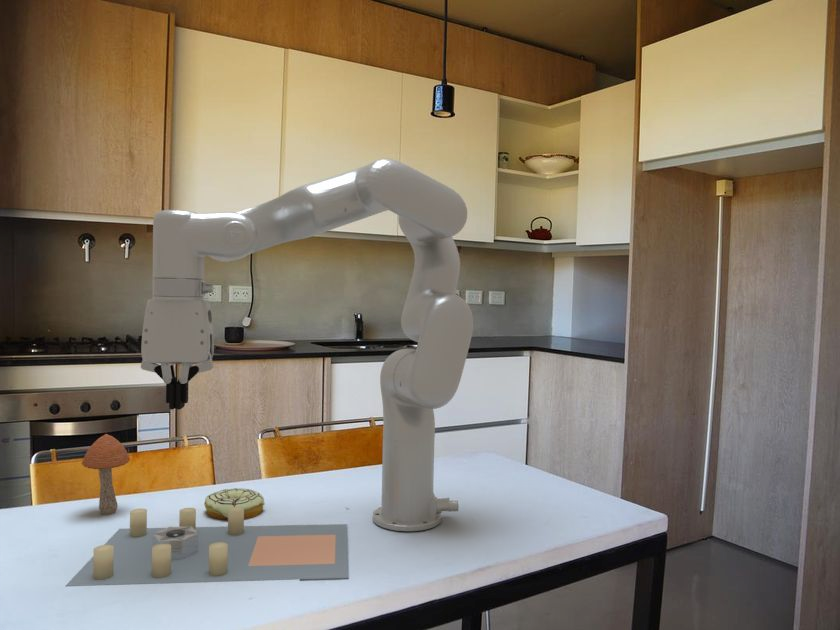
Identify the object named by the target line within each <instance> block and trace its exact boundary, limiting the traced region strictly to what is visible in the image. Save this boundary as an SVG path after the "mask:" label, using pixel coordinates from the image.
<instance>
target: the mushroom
mask: <svg viewBox="0 0 840 630" xmlns="http://www.w3.org/2000/svg"><path fill="white" fill-rule="evenodd" d="M130 460H131V458H130V456H129V453H128V451H127V450H126V448H125V446H124V445H123V444H122V443H121V442H120V441H119V440H118V439H117V438H115V437H114V436H113V435H111V434H110V435H109V434H107V433H105V434H104V435H102V436H100V437H98V438H97V439H96V440H95V441H94V442H93V443H92V444H91V445H90V447H89V448H88V449H87V451H86V453H85V455H84V457H83V459H82V461H81V465H82V466H83V467H84V468H88V469H90V470H91V469H92V470H98V475H99V484H100V485H99V486H100V489H99V490H100V491H99V499H98V500H99V502H98V510H99V512H100V514H101V515H104V516H109V515H114V514H115V513H116V512H117V510H118V509H117V508H118V502H117V497H116V493H115V490H114V486H113V475H112V474H113V473H112V472H113V471H112V470H113V469H115V468H118V467H122V466H125V465H126V464H127V463H129V462H130Z"/></svg>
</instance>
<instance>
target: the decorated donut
mask: <svg viewBox="0 0 840 630" xmlns="http://www.w3.org/2000/svg"><path fill="white" fill-rule="evenodd" d="M203 504H204V508H205V510H206V512H207V514H208V515H209V516H210V517H211V518H214V519H219V520H228V509H230V508H233V507H242V508H244V520H246V519H251V518H255V517H257V516H258V515H259V514H260V513H261V512H262V511H263V508H264V506H265V504H266V503H265V498H264V496H263V495H262V494H261V493H259V492H257V490H252V489H249V488H241V487H240V488H238V487H236V488H234V487H233V488H225V489H224V488H223V489H221V490H219V491H216V492H212V493H211V494H208V495H206V497H205V500H204V503H203Z"/></svg>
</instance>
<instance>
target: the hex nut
mask: <svg viewBox="0 0 840 630" xmlns="http://www.w3.org/2000/svg"><path fill="white" fill-rule="evenodd" d="M164 528H165V529H163V530H161V531H158V532H156V533H154V534H153V546H155V545H158V544H170V545H171V560H183V559H185V558H187V557H189V556H191V555H193V554H195V553H197V552H198V532H197V531H196V530H195V529H194V528H193V527H192V526H188V527H179V526H168V527H164Z"/></svg>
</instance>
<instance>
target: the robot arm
mask: <svg viewBox="0 0 840 630" xmlns="http://www.w3.org/2000/svg"><path fill="white" fill-rule="evenodd" d="M388 211H390V212H392V213H393V214H395V215H397V217H398V218H397V219H398V225H399V228H400V230H401V232H402V233H403V235H404V236H405V238H406V239H407V241H408V242H409V243H410V244H409V245H410V246H411V248H412V252H413V254H414V255H413V257H414V265H413V266H414V267H413V271H412V277H411V280H410V284H409V288H408V291H407V296H406V299H405V303H404V307H403V309H402V314H401V319H400V324H401V325H400V326H401V329H402V332H403V334H404V336H406V337H407V338H409V339H410V340H412V341H414V342H416V343H417V345H416V349H415V348H414V349H413V348H402V349H399V350H396V351H394V352H392V353H391V354H390V355H388V356H387V358H386V359H385V360H384V361H383V364H382V366H381V369H380V370H381V371H380V376H379V378H380V379H379V381H380V382H379V384H380V391H381V400H382V415H383V416H382V417H383V418H382V420H383V425H382V427H383V428H382V429H383V430H382V459H381V460H382V462H381V463H382V465H381V468H382V471H381V473H382V474H381V506H379V507H378V508H376V509H375V510H374V511H373V513H372V521H373V522H374V523H375V525H377V526H379V527H381V528H384V529H387V530H391V531H398V532H419V531H420V532H421V531H427V530H429V529H432V528H435V527H436V526H439V524H440V523H441V521H442V512H448V513H449V512H459V500H450V498H449V497H442V498H438V497H437V496H436V495H435V493H434V475H435V474H434V472H435V468H434V467H435V466H434V465H435V464H434V463H435V439H436V434H435V433H436V422H435V411H434V410H436V409H440V408H442V407H444V406H446V405H447V404H448V403H449V402H450V401H452V399H453V398H454V397H455V395H456V393H457V391H458V388H459V385H460V383H461V380H462V375H463V373H464V369H465V365H466V361H467V357H468V354H469V349H470V345H471V341H472V336H473V331H474V318H473V312H472V310H471V307H470V305H469V304H468V302H467V301H466V300H465V299H464V298H462V297H461V296H459V295H458V294H456V292H457V287H458V281H459V276H460V270H461V259H460V254H459V251H458V247H457V244H456V243H455V239H454V236H456V235H458V234H459V233H460V232H461V231H462V230H463V229H464V228H465V225H466V223H467V220H468V208H467V206H466V203H465V200H464V199H463V197H462V196H461V195H460V193H458V192H457V191H456V190H454V189H452V188H451V187H449V186H447V185H446V184H444V183H442V182H440V181H437V180H436V179H434V178H432V177H430V176H428V175H427V174H424V172H421V171H419V170H417V169H415V168H413V167H411V166H409V165H408V164H406V163H403V162H401V161H399V160H396V159H391V158H380V159H379V158H378V159H377V160H375V161H372V162H369V163H368V164H366V165H364V166H361V167H357V168H354V169H351V170H349V171H345V172H342V173H339V174H336V175H333V176H328V177H326V178H323V179H320V180H317V181H313V182H310V183H307V184H303V185H300V186H298V187H295V188H293V189H290V190H289V191H287V192H285V193H283V194H281V195H280V196H278V197H275V198H272V199H271V200H269V201H268V200H267V201H266V202H264V203H260V204H257V205H254V206H252V207H250V208H246V209H243V210H240V211H237V212H235V211H221V212H219V211H218V212H195V211H190V210H183V209H182V210H181V209H164V210H159V211H158V212H156V213H155V214H154V216H153V223H152V225H153V226H152V295H151V296H152V298H150V299H147V301H146V302H147V303H146V305H145V306H146V307H145V312H144V318H143V323H142V331H141V332H142V335H141V347H140V348H141V351H140V352H141V358H142V360H141V364H140V369H141V370H143V371H147V372H150V373H155V374H156V375H157V376H158V377H159V378H160V379H161V380H162V381H163V382H164V384H165V402H166V404H169V405H168V407H169V408H168V409H169V410H175V409H176V410H182V409H183V408H184V407H185V405H186V404H188V402H189V383H190V381H191V380H192V379H193V378H194V377H196V375H198V373H199V374H200V373H204V372H207V371H211V370H213V369H214V368H215V367H214V365H215V364H214V362H213V358H214V357H213V356H214V350H215V349H214V348H215V347H214V343H215V342H214V327H213V326H214V324H213V315H212V309H211V303H210V300H208V299H205V297H206V296H205V295H207V294H209V293H210V294H211V293H212V294H213V293H214V289H215V288H214V284H213V283H208V282H207V281H206V280H205V257H206V256H208V257H209V258H211V259H213V260H215V261H218V262H223V263H226V262H232V261H237V260H240V259H244V258H246V257H247V256H248V255H252V254H255V253H256V252H260V251H263V250H265V249H268V248H271V247H275V246H277V245H281V244H283V243H288V242H292V241H297V240H298V241H299V240H304V239H307V238H311V237H314V236H317V235H321V234H323V233H326V232H329V231H331V230H335V229H338V228H340V227H343V226H346V225H349V224H352V223H355V222H358V221H360V220H363V219H365V218H368V217H372V216H375V215H378V214H382V213H383V212H388ZM175 364H176V365H177V364H178V365H180V364H181V365H180V366H181V367H180V372H179V378H177V377H176V371H175Z"/></svg>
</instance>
